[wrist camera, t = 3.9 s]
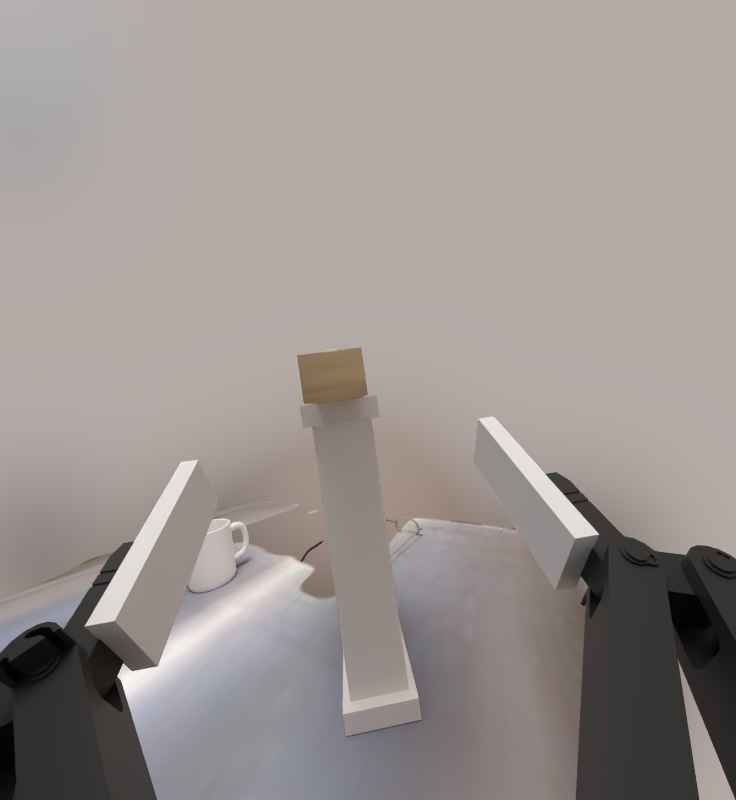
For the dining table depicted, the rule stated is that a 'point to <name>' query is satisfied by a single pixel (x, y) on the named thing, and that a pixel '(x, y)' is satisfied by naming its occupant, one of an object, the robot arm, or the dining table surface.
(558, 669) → the dining table surface
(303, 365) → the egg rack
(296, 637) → the dining table surface
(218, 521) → the cup
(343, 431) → the pedestal
